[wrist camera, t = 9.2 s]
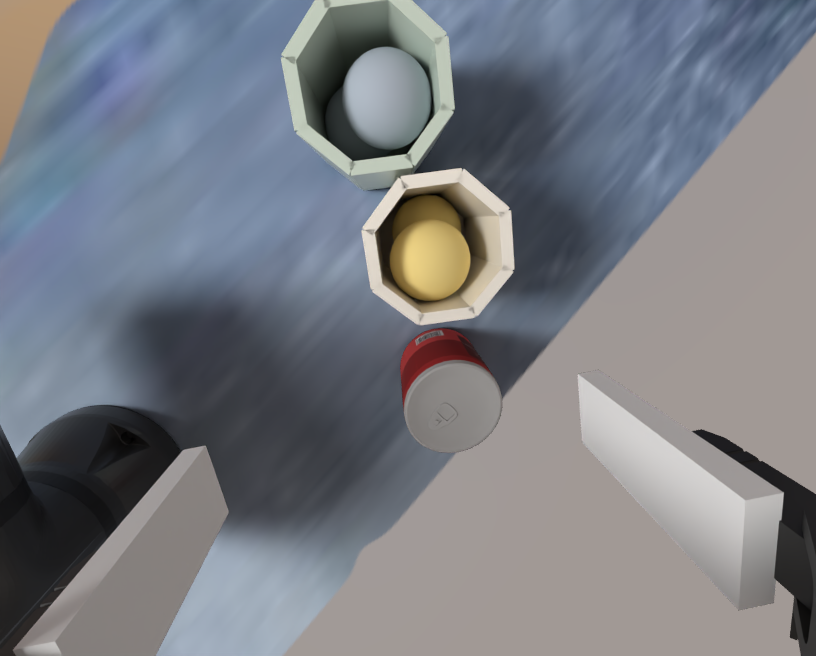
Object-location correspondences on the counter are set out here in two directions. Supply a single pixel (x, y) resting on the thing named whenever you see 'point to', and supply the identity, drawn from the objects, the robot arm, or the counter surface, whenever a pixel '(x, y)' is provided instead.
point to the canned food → (448, 392)
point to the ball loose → (430, 260)
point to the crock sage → (330, 62)
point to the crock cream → (480, 227)
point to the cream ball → (424, 213)
